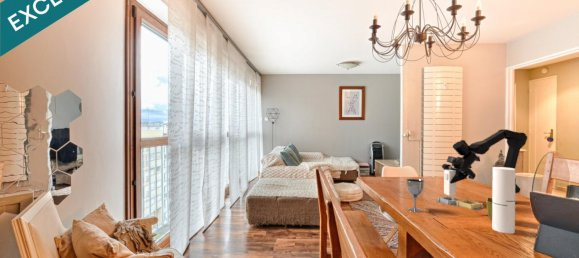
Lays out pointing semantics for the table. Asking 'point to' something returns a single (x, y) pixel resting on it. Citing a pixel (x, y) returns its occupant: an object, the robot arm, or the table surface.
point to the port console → (461, 203)
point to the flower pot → (489, 207)
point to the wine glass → (415, 191)
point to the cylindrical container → (503, 200)
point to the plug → (448, 187)
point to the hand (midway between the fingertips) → (447, 182)
